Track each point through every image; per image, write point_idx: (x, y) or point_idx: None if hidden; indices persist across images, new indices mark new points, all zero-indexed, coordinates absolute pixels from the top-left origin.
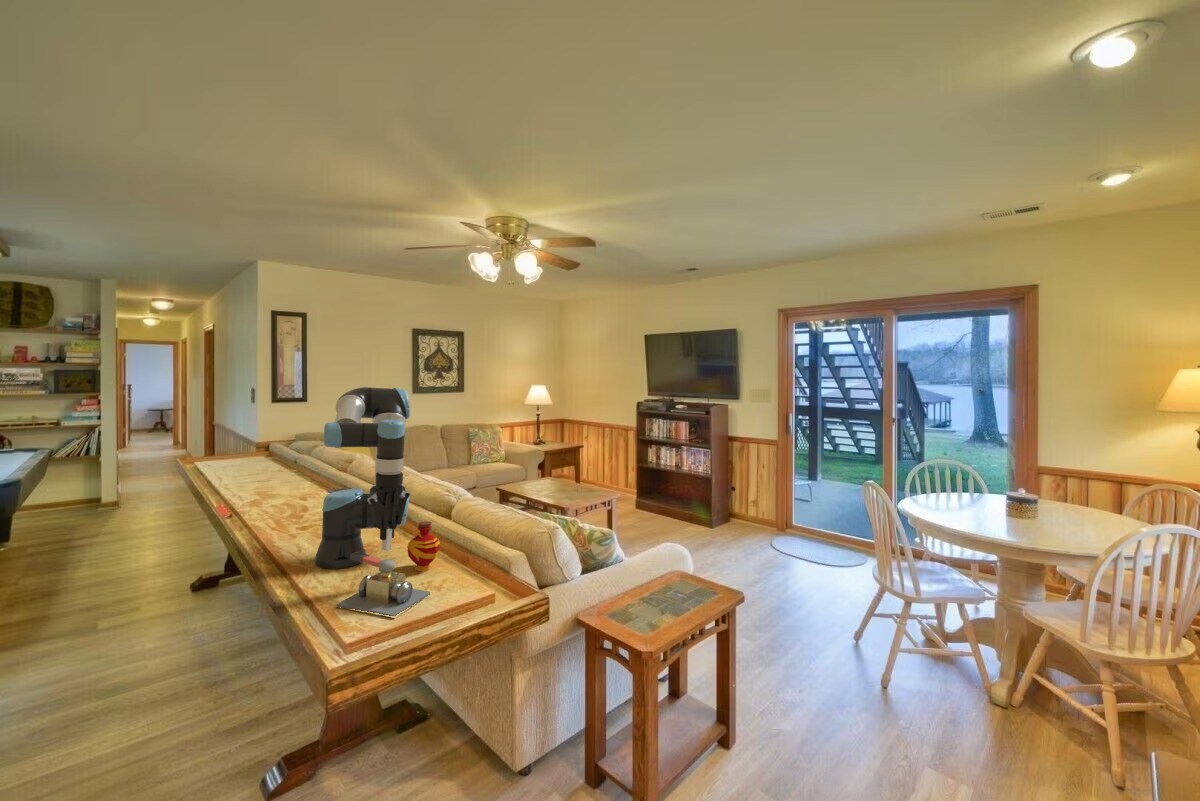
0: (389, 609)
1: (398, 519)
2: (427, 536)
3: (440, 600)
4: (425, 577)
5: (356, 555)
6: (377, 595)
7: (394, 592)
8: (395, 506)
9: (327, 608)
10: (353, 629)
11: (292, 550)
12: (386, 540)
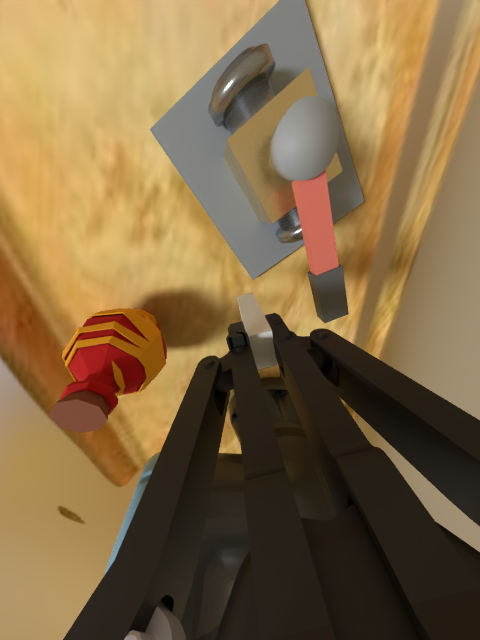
0: (292, 58)
1: (213, 377)
2: (93, 365)
3: (128, 57)
4: (143, 269)
5: (344, 291)
6: None
7: (273, 91)
8: (251, 467)
9: (373, 208)
10: (403, 6)
11: None
12: (261, 310)
